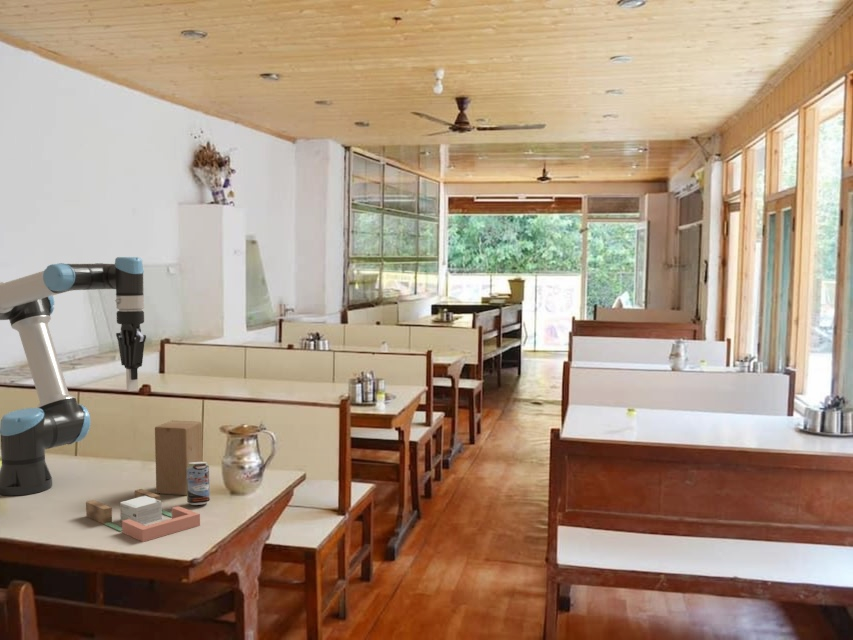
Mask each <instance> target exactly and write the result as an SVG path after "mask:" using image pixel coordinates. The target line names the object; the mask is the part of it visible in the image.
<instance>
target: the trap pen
mask: <svg viewBox="0 0 853 640" xmlns="http://www.w3.org/2000/svg"><path fill="white" fill-rule="evenodd" d="M171 513H172V518H171V519H166V520H163V521H159V522H155V523H151V524H148V525H145V524H140V523H138V522H135V521H133V520H131V519H127V520H124V521H121V527H122V531H121V532H122V534H124V535H127V536H128V537H131V538H134V539H135V540H138V541H140V542H142V543H144V542H147V541H150V540H154V539H158V538H162V537H164V536H169V535H173V534H175V533H178V532H181V531H186V530H189V529H193V528H196V527H200V526H201V513H198V512H196V511H193V510H190V509H187V508H185V507H182V506H173V507H171Z"/></svg>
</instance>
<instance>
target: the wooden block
mask: <svg viewBox="0 0 853 640" xmlns="http://www.w3.org/2000/svg"><path fill="white" fill-rule="evenodd" d="M202 432H203V431H202V422H201V421H193V420H190V421H188V420H174V419H173V420H170V421H167V422H164V423H162V424H160V425H157V426H155V427H154V443H155V444H154V445H155V446H154V449H155V450H154V451H155V452H154V453H155V455H154V457H155V486H156V487H155V491H156V494H159V493H160V494H161V495H172V496H174V495H176V496H187V467H188V465H189V463H191V462H203V445H202V444H203V443H202V442H203V441H202V440H203V437H202Z"/></svg>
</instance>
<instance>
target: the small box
mask: <svg viewBox="0 0 853 640" xmlns="http://www.w3.org/2000/svg"><path fill="white" fill-rule="evenodd" d="M119 509H120V510H119V513H120V515H119V517H120V521H121V522H122V521H124V520H127V519H131V520H133V521H135V522H138V523H140V524H142V525H145V524H148V523H151V522H155V521H159V520H162V516H163V514H162V510H163V509H162V500H160V501H159V500H156V499H155V498H150V497H147V496H142V497H138V498H135V497H134V498H131V499H128V500H127V499H126V500H124V501H120V502H119Z"/></svg>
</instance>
